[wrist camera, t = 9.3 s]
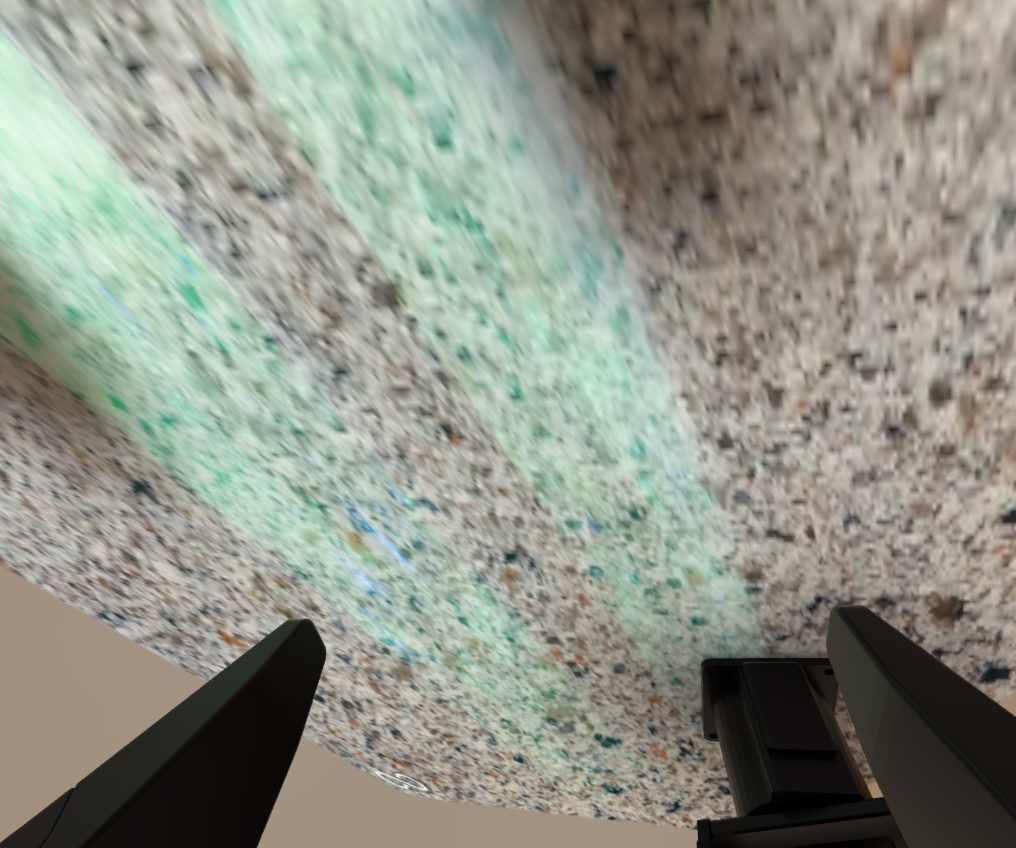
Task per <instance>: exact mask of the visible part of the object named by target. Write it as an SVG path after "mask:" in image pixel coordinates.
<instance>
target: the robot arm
mask: <svg viewBox="0 0 1016 848" xmlns="http://www.w3.org/2000/svg"><path fill="white" fill-rule="evenodd" d="M826 648H827V653H828V657H829V658H748V659H706V660H704V661H702V662H701V692H702V725H703V733H704V737H705V738H706V739H707V740H709V741H719V743H720V747H721V751H722V755H723V759H724V763H725V768H726V772H727V776H728V780H729V784H730V788H731V792H732V797H733V801H734V805H735V809H736V813H737V817H735V818H727V819H720V820H713V821H711V820H710V819H701V820H697V829H698V841H697V848H1016V716H1014V715H1013V714H1012V713H1010V712H1009V711H1007V710H1006V709H1005V708H1003V707H1002V706H1001V705H999V704H998V703H997V702H995V701H994V700H992V699H991V698H990V697H988V696H987V695H986V694H984V693H983V692H982V691H980V690H979V689H977V688H976V687H975V686H973V685H972V684H971V683H969V682H968V681H967V680H965V679H964V678H962V677H961V676H960V675H958V674H957V673H956V672H954V671H953V670H951V669H950V668H949V667H947V666H946V665H945V664H943V663H942V662H941V661H939V660H938V659H936V658H935V657H934V656H932V655H931V654H930V653H928V652H927V651H926V650H924V649H923V648H921V647H920V646H919V645H917V644H916V643H915V642H913V641H912V640H911V639H909V638H908V637H906V636H905V635H904V634H902V633H901V632H900V631H898V630H897V629H896V628H894V627H893V626H891V625H890V624H889V623H887V622H886V621H885V620H883V619H882V618H881V617H879V616H878V615H876V614H875V613H874V612H872V611H871V610H870V609H868V608H866V607H864V606H861V605H837V606H834V607H832V609H831V611H830V616H829V624H828V631H827V639H826ZM325 660H326V647H325V645H324V643H323V641H322V639H321V637H320V635H319V633H318V631H317V629H316V627H315V625H314V623H313V622H312V621H311V620H310V619H290V620H288V621H286V622H284V623H283V624H282V625H281V626H279V627H278V628H277V629H275V630H274V631H273V632H272V633H270V634H269V635H268V636H266V637H265V638H264V639H263V640H261V641H260V642H259V643H257V644H256V645H255V646H254V647H252V648H251V649H250V650H248V651H247V652H246V653H245V654H243V655H242V656H241V657H239V658H238V659H237V660H236V661H234V662H233V663H232V664H230V665H229V666H228V667H227V668H225V669H224V670H223V671H221V672H220V673H219V674H218V675H216V676H215V677H214V678H212V679H211V680H210V681H209V682H207V683H206V684H205V685H203V686H202V687H201V688H200V689H198V690H197V691H196V692H194V693H193V694H192V695H190V696H189V697H188V698H187V699H185V700H184V701H183V702H182V703H180V704H179V705H178V706H176V707H175V708H174V709H172V710H171V711H170V712H169V713H167V714H166V715H165V716H164V717H162V718H161V719H160V720H158V721H157V722H156V723H155V724H153V725H152V726H151V727H149V728H148V729H147V730H145V731H144V732H143V733H142V734H140V735H139V736H138V737H136V738H135V739H134V740H133V741H131V742H130V743H129V744H127V745H126V746H125V747H124V748H123V749H121V750H120V751H118V752H117V753H116V754H115V755H113V756H112V757H111V758H110V759H108V760H107V761H106V762H104V763H103V764H102V765H100V766H99V767H98V768H97V769H95V770H94V771H93V772H91V773H90V774H89V775H88V776H86V777H85V778H84V779H82V780H81V781H80V782H79V783H77V785H76V787H75V788H71V789H69V790H68V791H67V792H65V793H64V794H63V795H62V796H60V797H59V798H58V799H57V800H55V801H54V802H53V803H51V804H50V805H49V806H48V807H46V808H45V809H44V810H42V811H41V812H40V813H38V814H37V815H36V816H35V817H33V818H32V819H31V820H29V821H28V822H27V823H26V824H24V825H23V826H21V827H20V828H19V829H18V830H16V831H15V832H14V833H12V834H11V835H10V836H8V837H7V838H6V839H4V840H3V841H2V842H0V848H257V846H258V844H259V841H260V839H261V836H262V834H263V832H264V829H265V827H266V824H267V822H268V820H269V817H270V815H271V812H272V810H273V807H274V805H275V802H276V800H277V798H278V795H279V793H280V790H281V788H282V785H283V783H284V780H285V778H286V776H287V773H288V771H289V768H290V766H291V763H292V761H293V758H294V756H295V753H296V751H297V748H298V745H299V742H300V739H301V737H302V734H303V731H304V728H305V724H306V721H307V718H308V715H309V712H310V708H311V705H312V702H313V699H314V696H315V692H316V689H317V686H318V683H319V680H320V676H321V673H322V670H323V667H324V664H325ZM838 686H839V687H840V690H841V692H842V695H843V698H844V700H845V703H846V706H847V708H848V711H849V714H850V716H851V719H852V722H853V724H854V727H855V730H856V732H857V735H858V738H859V740H860V743H861V746H862V749H863V751H864V754H865V756H866V759H867V761H868V764H869V766H870V769H871V771H872V773H873V775H874V777H875V779H876V782H877V783H878V786H879V788H880V790H881V792H882V794H883V796H884V797H880V798H873V797H872V796H871V793H870V791H869V789H868V787H867V785H866V783H865V780H864V778H863V776H862V774H861V772H860V770H859V768H858V765H857V763H856V761H855V759H854V757H853V755H852V753H851V750H850V748H849V746H848V744H847V742H846V740H845V738H844V736H843V733H842V731H841V729H840V727H839V725H838V723H837V721H836V718H835V716H834V711H835V705H836V698H837V692H838Z"/></svg>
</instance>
